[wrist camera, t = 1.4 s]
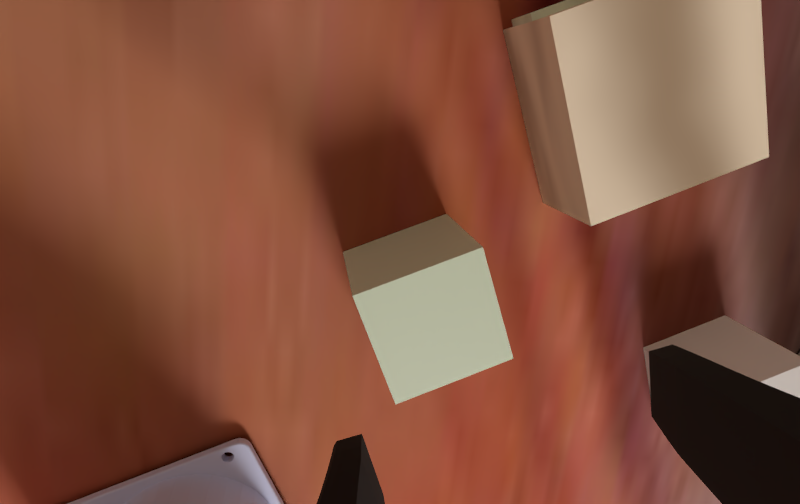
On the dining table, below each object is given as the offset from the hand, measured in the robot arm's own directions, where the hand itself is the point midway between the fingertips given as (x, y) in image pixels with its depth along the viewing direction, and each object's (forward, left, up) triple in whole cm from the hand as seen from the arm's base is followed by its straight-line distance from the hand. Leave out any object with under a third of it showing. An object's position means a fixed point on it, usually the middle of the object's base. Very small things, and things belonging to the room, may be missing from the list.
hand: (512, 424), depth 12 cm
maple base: (+9, +5, -10) cm, 14 cm away
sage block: (0, 0, -10) cm, 10 cm away
